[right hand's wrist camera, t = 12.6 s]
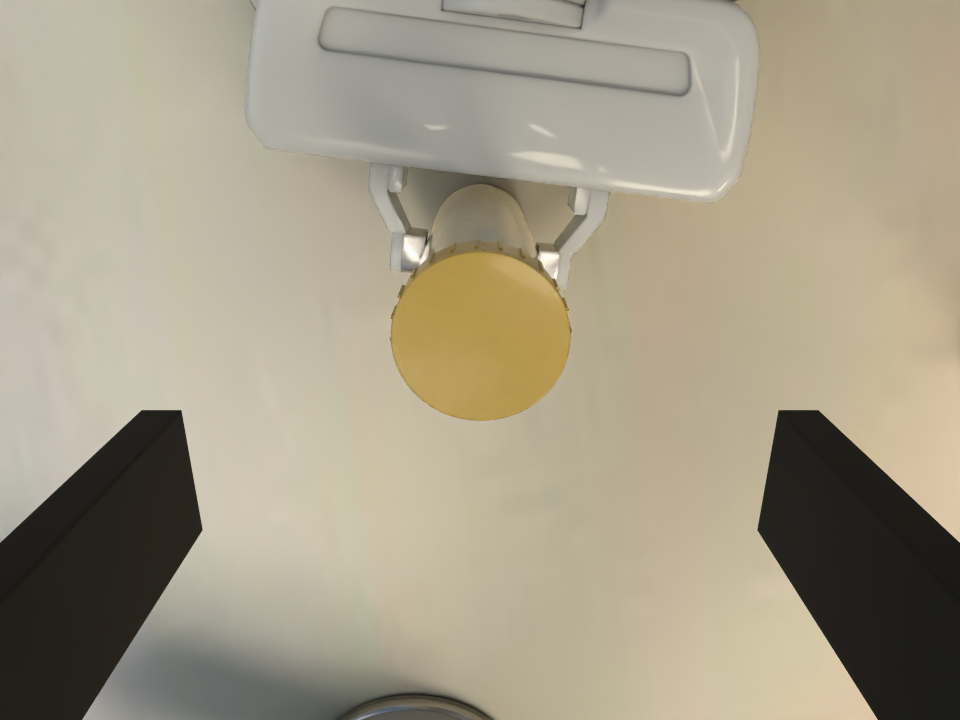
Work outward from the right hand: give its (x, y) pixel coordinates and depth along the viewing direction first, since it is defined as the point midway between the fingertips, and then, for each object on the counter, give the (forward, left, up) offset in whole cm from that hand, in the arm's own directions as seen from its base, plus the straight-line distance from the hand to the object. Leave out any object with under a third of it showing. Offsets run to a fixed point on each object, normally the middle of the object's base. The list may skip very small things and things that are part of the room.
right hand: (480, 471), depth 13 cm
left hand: (-1, +1, -18) cm, 18 cm away
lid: (0, 0, -8) cm, 8 cm away
